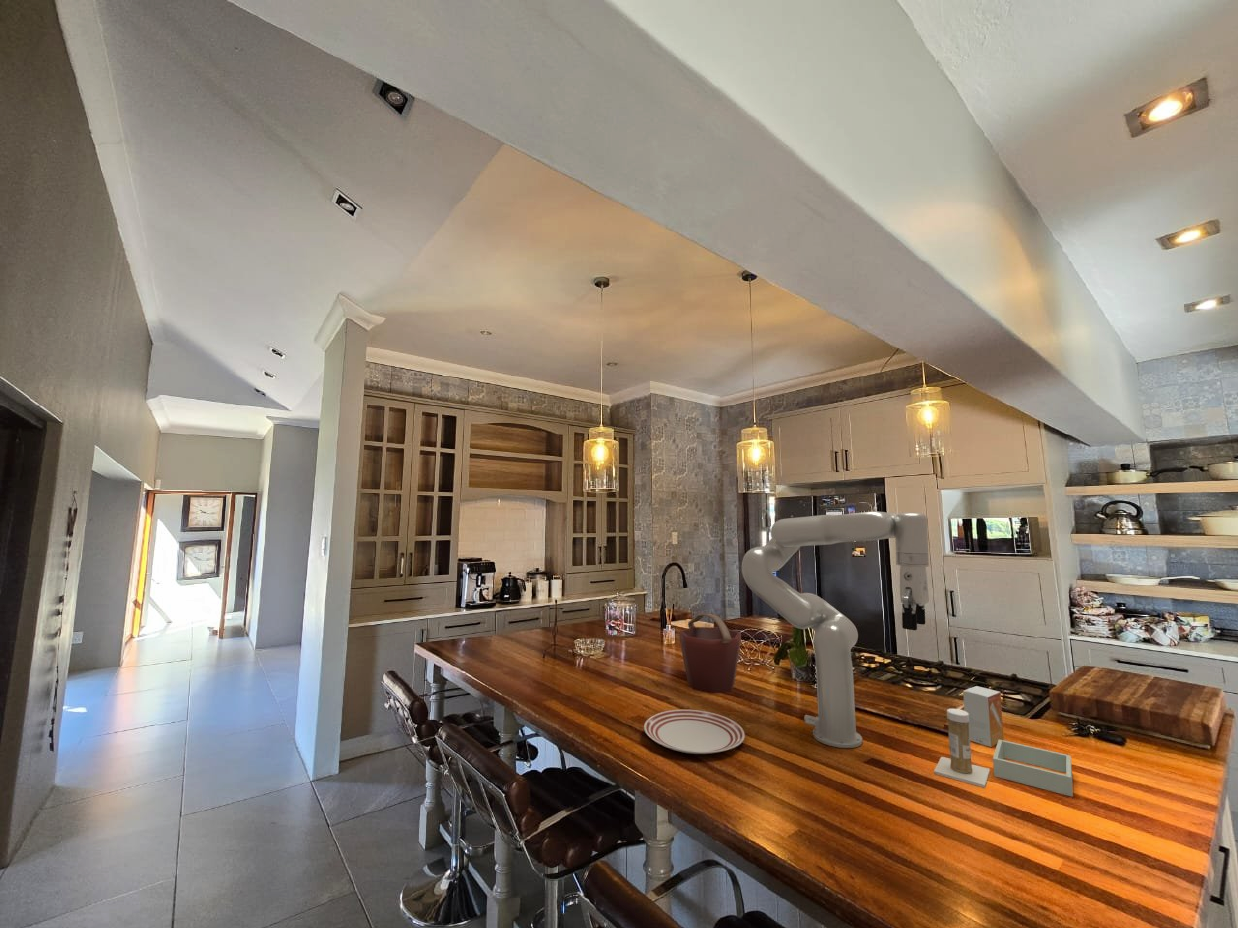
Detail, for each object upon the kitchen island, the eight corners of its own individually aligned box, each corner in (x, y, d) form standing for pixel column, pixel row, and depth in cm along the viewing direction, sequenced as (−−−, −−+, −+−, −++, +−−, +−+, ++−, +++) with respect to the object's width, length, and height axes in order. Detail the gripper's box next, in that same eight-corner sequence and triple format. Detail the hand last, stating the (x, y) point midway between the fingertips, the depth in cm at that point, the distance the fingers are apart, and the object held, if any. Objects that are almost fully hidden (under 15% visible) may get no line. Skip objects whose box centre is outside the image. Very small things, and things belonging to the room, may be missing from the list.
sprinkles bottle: (975, 775, 121) (971, 715, 123) (953, 772, 123) (949, 713, 124) (968, 766, 125) (965, 708, 127) (947, 763, 127) (944, 706, 128)
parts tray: (994, 775, 122) (992, 758, 123) (999, 755, 133) (998, 739, 133) (1072, 796, 113) (1071, 777, 113) (1072, 773, 124) (1070, 755, 124)
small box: (991, 747, 137) (988, 696, 139) (965, 739, 142) (962, 690, 144) (1004, 740, 142) (1001, 691, 143) (978, 732, 147) (975, 685, 148)
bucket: (675, 675, 199) (674, 609, 202) (731, 674, 202) (729, 608, 205) (691, 697, 175) (690, 622, 178) (754, 695, 178) (752, 620, 180)
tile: (934, 773, 123) (933, 770, 123) (941, 758, 131) (941, 756, 131) (985, 787, 117) (984, 784, 117) (989, 771, 124) (989, 768, 124)
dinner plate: (763, 739, 143) (763, 726, 143) (708, 774, 123) (708, 759, 124) (682, 713, 162) (682, 702, 162) (623, 740, 142) (623, 727, 142)
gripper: (921, 563, 127) (923, 634, 125) (935, 559, 140) (937, 623, 138) (887, 560, 132) (889, 629, 130) (904, 557, 145) (906, 619, 143)
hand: (914, 626), depth 134 cm, fingers open, 9 cm apart
